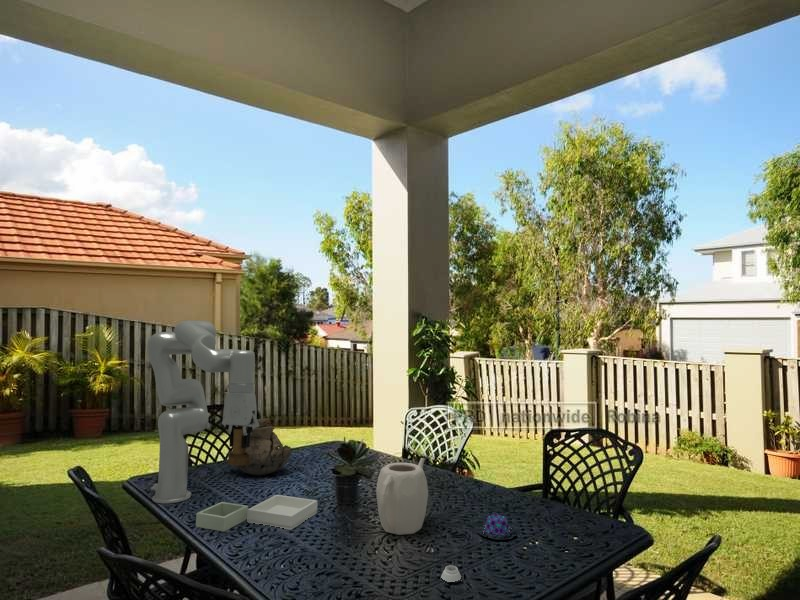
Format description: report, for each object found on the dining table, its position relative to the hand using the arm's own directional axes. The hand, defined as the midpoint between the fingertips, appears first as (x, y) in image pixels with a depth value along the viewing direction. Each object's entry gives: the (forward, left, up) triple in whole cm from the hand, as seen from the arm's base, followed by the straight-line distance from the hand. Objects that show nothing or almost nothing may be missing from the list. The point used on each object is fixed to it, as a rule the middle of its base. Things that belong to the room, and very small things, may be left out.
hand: (239, 446), depth 160 cm
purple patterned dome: (+78, +22, -24) cm, 85 cm away
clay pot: (-27, +50, -24) cm, 61 cm away
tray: (+11, +9, -23) cm, 28 cm away
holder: (-4, -2, -23) cm, 24 cm away
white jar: (+73, -12, -24) cm, 77 cm away
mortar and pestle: (0, 0, -5) cm, 5 cm away
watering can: (+50, +16, -24) cm, 58 cm away
